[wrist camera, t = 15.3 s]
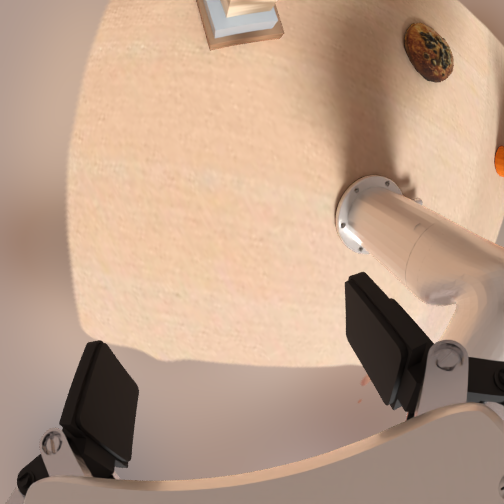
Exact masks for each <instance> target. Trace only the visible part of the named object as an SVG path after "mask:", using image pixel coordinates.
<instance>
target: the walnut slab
mask: <svg viewBox="0 0 504 504" xmlns="http://www.w3.org/2000/svg"><path fill="white" fill-rule="evenodd" d="M196 1H197V4H198V8H199V11H200V15H201V19H202V22H203V26H204V30H205V33H206V37H207V41H208V44H209V48H210V50H214V49H219V48H224V47H229V46H234V45H239V44H245V43H251V42H257V41H264V40H272V39H280V37H281V36H282V35H283V34H284V30H283V27H282V24H281V21H280V17H279V14H278V11H277V8H276V5H274V6H273V7H274V10H275V13H276V16H277V19H278V21H277V23H276V24H275V25H274V27H273V28H272V29H264V30H257V31H251V32H245V33H239V34H234V35H229V36H224V37H220V38H214V35H213V31H212V28H211V25H210V21H209V18H208V15H207V12H206V8H205V5H204V2H203V0H196Z"/></svg>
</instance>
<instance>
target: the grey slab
mask: <svg viewBox="0 0 504 504" xmlns="http://www.w3.org/2000/svg"><path fill="white" fill-rule="evenodd" d="M203 2H204V5H205V8H206V12H207V15H208V18H209V21H210V25H211V28H212V31H213V35H214V38H220V37H224V36H229V35H234V34H239V33H245V32H251V31H257V30H264V29H272V28H273V27H274V25H275V24H276V23H277V21H278V19H277V16H276V13H275V10H274V7H273V8H272V10H271V11H266V12H258V13H251V14H245V15H239V16H234V17H228V18H226V15H225V12H224V10H223V7H222V4H221V1H220V0H203Z"/></svg>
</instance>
